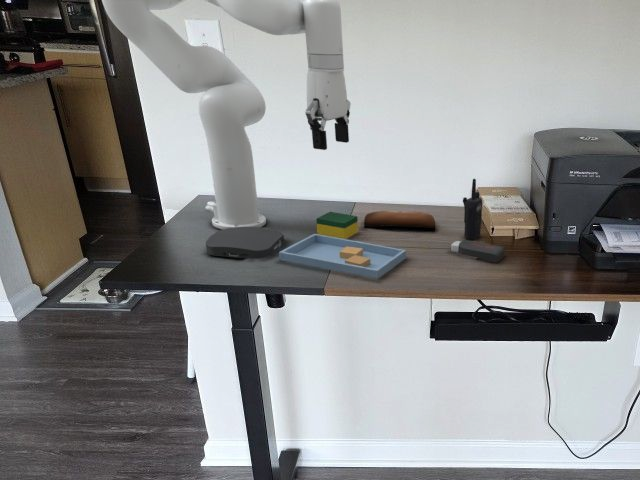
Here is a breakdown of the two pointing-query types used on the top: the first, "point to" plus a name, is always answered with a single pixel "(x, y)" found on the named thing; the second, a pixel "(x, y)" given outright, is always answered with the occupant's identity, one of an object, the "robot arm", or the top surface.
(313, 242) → the tray
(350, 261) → the crumb
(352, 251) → the crumb
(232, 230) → the media streaming box
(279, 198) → the top surface
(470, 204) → the two-way radio
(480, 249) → the usb drive
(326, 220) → the sponge
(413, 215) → the sunglasses case
